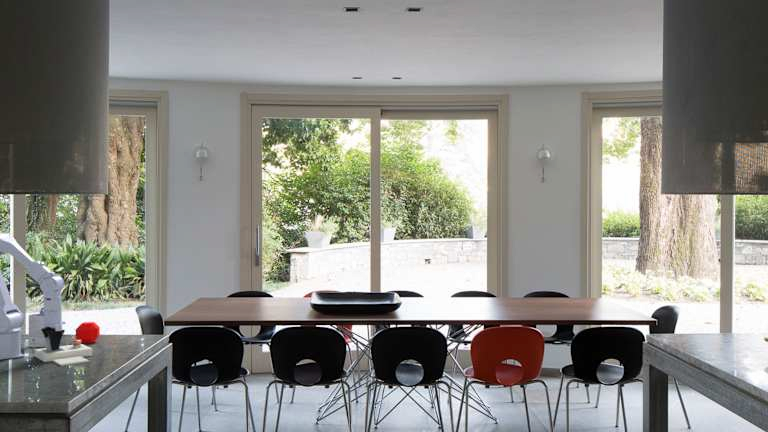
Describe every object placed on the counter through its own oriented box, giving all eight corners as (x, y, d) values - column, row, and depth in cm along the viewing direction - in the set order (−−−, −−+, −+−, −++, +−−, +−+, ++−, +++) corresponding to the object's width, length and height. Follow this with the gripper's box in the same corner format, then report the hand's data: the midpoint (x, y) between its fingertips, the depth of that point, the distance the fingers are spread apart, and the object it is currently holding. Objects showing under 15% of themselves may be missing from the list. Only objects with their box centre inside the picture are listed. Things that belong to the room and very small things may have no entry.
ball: (79, 340, 285) (79, 321, 285) (100, 340, 286) (100, 321, 286) (74, 344, 277) (74, 324, 277) (96, 344, 278) (96, 324, 278)
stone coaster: (60, 365, 240) (60, 364, 240) (52, 361, 247) (52, 359, 247) (88, 362, 246) (88, 360, 246) (80, 357, 253) (80, 356, 253)
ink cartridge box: (60, 344, 277) (60, 307, 277) (53, 347, 271) (53, 309, 271) (35, 344, 277) (34, 307, 277) (27, 347, 272) (27, 309, 271)
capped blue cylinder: (48, 359, 251) (48, 336, 250) (44, 357, 254) (44, 335, 254) (61, 357, 253) (61, 335, 253) (57, 355, 257) (57, 333, 257)
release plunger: (73, 353, 257) (73, 341, 256) (70, 352, 259) (70, 340, 259) (82, 352, 259) (82, 340, 259) (80, 351, 261) (79, 339, 261)
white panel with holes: (44, 361, 246) (44, 354, 246) (34, 356, 255) (34, 349, 255) (92, 355, 256) (92, 348, 256) (81, 350, 266) (81, 343, 266)
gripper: (71, 311, 250) (71, 350, 251) (58, 307, 262) (58, 344, 262) (49, 313, 246) (49, 353, 246) (37, 308, 257) (38, 346, 257)
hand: (53, 348), depth 254 cm, fingers closed on capped blue cylinder, 4 cm apart
